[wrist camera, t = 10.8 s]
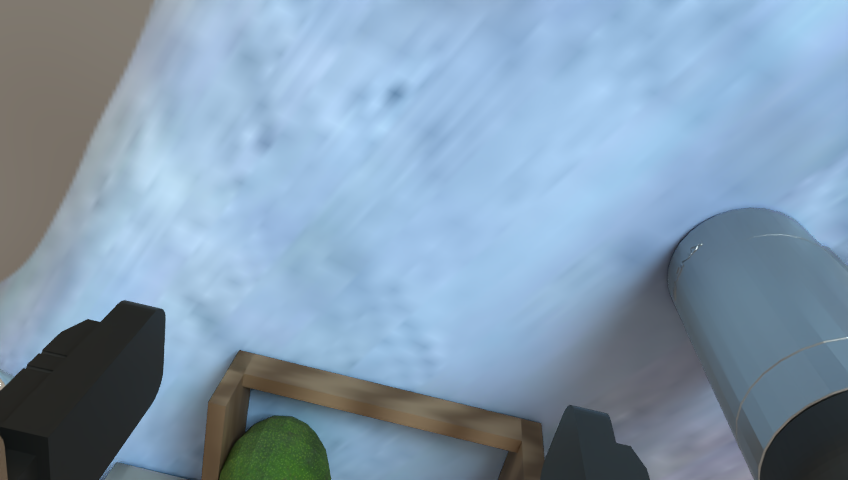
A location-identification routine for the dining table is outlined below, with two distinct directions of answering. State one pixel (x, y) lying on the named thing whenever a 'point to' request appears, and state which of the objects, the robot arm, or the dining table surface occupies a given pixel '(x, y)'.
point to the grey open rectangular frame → (137, 474)
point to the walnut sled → (362, 412)
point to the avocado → (277, 453)
